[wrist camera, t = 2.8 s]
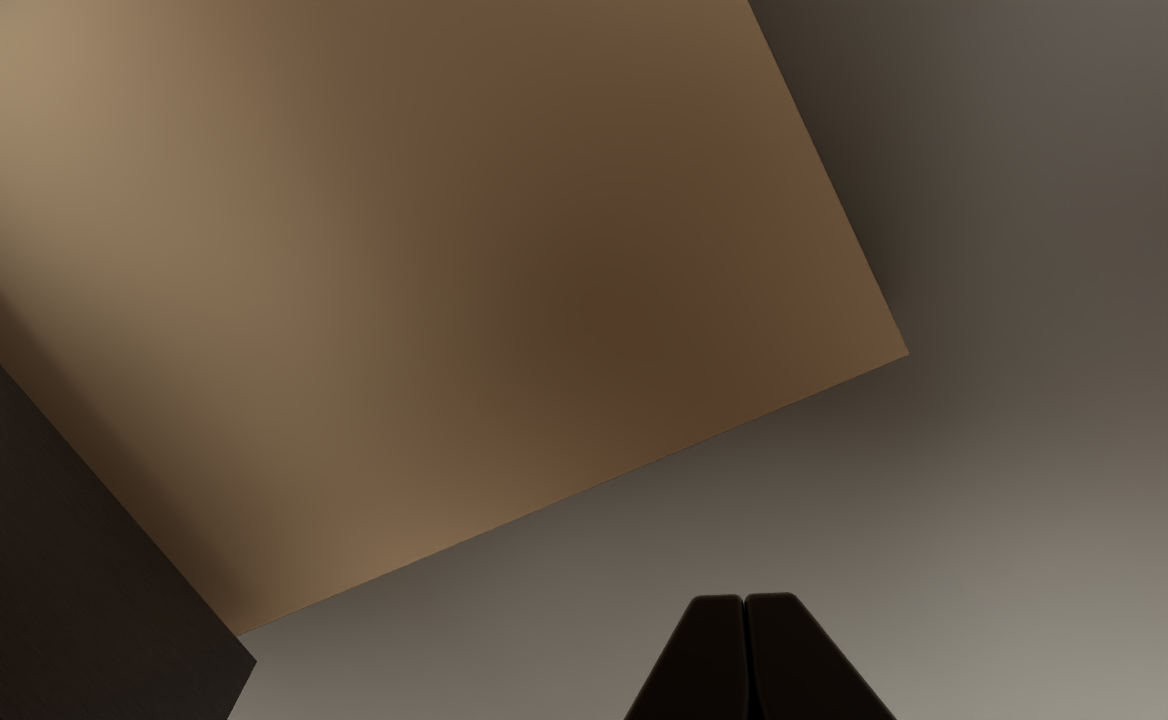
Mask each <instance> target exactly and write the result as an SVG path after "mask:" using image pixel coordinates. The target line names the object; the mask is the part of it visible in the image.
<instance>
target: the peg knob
mask: <svg viewBox="0 0 1168 720" xmlns="http://www.w3.org/2000/svg"><path fill="white" fill-rule="evenodd" d="M256 663H257V661H256V660H255V658H254V657H253V656H252V655H251V654H250V653H249V651H248V650H247V649H246V648H245V647H244V646H243V645H242V643H241V642H240V641H239V640H238V639H237V638H236V636H235V635H234V634H233V633H232V632H231V631H230V630H229V628H228V627H227V626H226V625H225V624H224V623H223V621H222V620H221V619H220V618H219V617H218V616H217V614H216V613H215V612H214V611H213V610H212V609H211V608H210V606H209V605H208V604H207V603H206V602H205V601H204V599H203V598H202V597H201V596H200V595H199V594H198V593H197V591H196V590H195V589H194V588H193V587H192V586H191V584H190V583H189V582H188V581H187V580H186V579H185V577H184V576H183V575H182V574H181V573H180V572H179V571H178V569H177V568H176V567H175V566H174V565H173V564H172V562H171V561H170V560H169V559H168V558H167V557H166V555H165V554H164V553H163V552H162V551H161V550H160V549H159V547H158V546H157V545H156V544H155V543H154V542H153V540H152V539H151V538H150V537H149V536H148V535H147V534H146V532H145V531H144V530H143V529H142V528H141V527H140V525H139V524H138V523H137V522H136V521H135V520H134V518H133V517H132V516H131V515H130V514H129V513H128V512H127V510H126V509H125V508H124V507H123V506H122V505H121V503H120V502H119V501H118V500H117V499H116V498H115V497H114V495H113V494H112V493H111V492H110V491H109V490H108V488H107V487H106V486H105V485H104V484H103V483H102V481H101V480H100V479H99V478H98V477H97V476H96V475H95V473H94V472H93V471H92V470H91V469H90V468H89V466H88V465H87V464H86V463H85V462H84V461H83V460H82V458H81V457H80V456H79V455H78V454H77V453H76V451H75V450H74V449H73V448H72V447H71V446H70V444H69V443H68V442H67V441H66V440H65V439H64V438H63V436H62V435H61V434H60V433H59V432H58V431H57V429H56V428H55V427H54V426H53V425H52V424H51V422H50V421H49V420H48V419H47V418H46V417H45V416H44V414H43V413H42V412H41V411H40V410H39V409H38V407H37V406H36V405H35V404H34V403H33V402H32V401H31V399H30V398H29V397H28V396H27V395H26V394H25V392H24V391H23V390H22V389H21V388H20V387H19V385H18V384H17V383H16V382H15V381H14V380H13V379H12V377H11V376H10V375H9V374H8V373H7V372H6V370H5V369H4V368H3V367H2V366H1V365H0V720H227V718H228V717H229V715H230V713H231V711H232V709H233V707H234V705H235V703H236V701H237V699H238V697H239V695H240V693H241V691H242V690H243V688H244V686H245V684H246V682H247V680H248V678H249V676H250V674H251V672H252V670H253V668H254V666H255V665H256Z"/></svg>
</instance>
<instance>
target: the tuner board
mask: <svg viewBox="0 0 1168 720" xmlns="http://www.w3.org/2000/svg"><path fill="white" fill-rule="evenodd" d="M909 354H910V353H909V351H908V349H907V347H906V345H905V342H904V340H903V338H902V336H901V334H900V332H899V329H898V327H897V325H896V323H895V321H894V318H893V316H892V314H891V312H890V310H889V308H888V305H887V303H886V301H885V299H884V297H883V294H882V292H881V290H880V288H879V286H878V284H877V281H876V279H875V277H874V275H873V273H872V271H871V268H870V266H869V264H868V262H867V260H866V257H865V255H864V253H863V251H862V249H861V247H860V244H859V242H858V240H857V238H856V236H855V233H854V231H853V229H852V227H851V225H850V223H849V220H848V218H847V216H846V214H845V212H844V209H843V207H842V205H841V203H840V201H839V199H838V196H837V194H836V192H835V190H834V188H833V185H832V183H831V181H830V179H829V177H828V175H827V172H826V170H825V168H824V166H823V164H822V162H821V159H820V157H819V155H818V153H817V151H816V148H815V146H814V144H813V142H812V140H811V138H810V135H809V133H808V131H807V129H806V127H805V124H804V122H803V120H802V118H801V116H800V114H799V111H798V109H797V107H796V105H795V103H794V100H793V98H792V96H791V94H790V92H789V90H788V87H787V85H786V83H785V81H784V79H783V76H782V74H781V72H780V70H779V68H778V66H777V63H776V61H775V59H774V57H773V55H772V53H771V50H770V48H769V46H768V44H767V42H766V39H765V37H764V35H763V33H762V31H761V29H760V26H759V24H758V22H757V20H756V18H755V15H754V13H753V11H752V9H751V7H750V5H749V2H748V0H0V365H1V366H2V367H3V368H4V369H5V370H6V372H7V373H8V374H9V375H10V376H11V377H12V379H13V380H14V381H15V382H16V383H17V384H18V385H19V387H20V388H21V389H22V390H23V391H24V392H25V394H26V395H27V396H28V397H29V398H30V399H31V401H32V402H33V403H34V404H35V405H36V406H37V407H38V409H39V410H40V411H41V412H42V413H43V414H44V416H45V417H46V418H47V419H48V420H49V421H50V422H51V424H52V425H53V426H54V427H55V428H56V429H57V431H58V432H59V433H60V434H61V435H62V436H63V438H64V439H65V440H66V441H67V442H68V443H69V444H70V446H71V447H72V448H73V449H74V450H75V451H76V453H77V454H78V455H79V456H80V457H81V458H82V460H83V461H84V462H85V463H86V464H87V465H88V466H89V468H90V469H91V470H92V471H93V472H94V473H95V475H96V476H97V477H98V478H99V479H100V480H101V481H102V483H103V484H104V485H105V486H106V487H107V488H108V490H109V491H110V492H111V493H112V494H113V495H114V497H115V498H116V499H117V500H118V501H119V502H120V503H121V505H122V506H123V507H124V508H125V509H126V510H127V512H128V513H129V514H130V515H131V516H132V517H133V518H134V520H135V521H136V522H137V523H138V524H139V525H140V527H141V528H142V529H143V530H144V531H145V532H146V534H147V535H148V536H149V537H150V538H151V539H152V540H153V542H154V543H155V544H156V545H157V546H158V547H159V549H160V550H161V551H162V552H163V553H164V554H165V555H166V557H167V558H168V559H169V560H170V561H171V562H172V564H173V565H174V566H175V567H176V568H177V569H178V571H179V572H180V573H181V574H182V575H183V576H184V577H185V579H186V580H187V581H188V582H189V583H190V584H191V586H192V587H193V588H194V589H195V590H196V591H197V593H198V594H199V595H200V596H201V597H202V598H203V599H204V601H205V602H206V603H207V604H208V605H209V606H210V608H211V609H212V610H213V611H214V612H215V613H216V614H217V616H218V617H219V618H220V619H221V620H222V621H223V623H224V624H225V625H226V626H227V627H228V628H229V630H230V631H231V632H232V633H233V634H234V635H235V636H239V635H241V634H243V633H246V632H248V631H251V630H253V629H255V628H258V627H260V626H263V625H265V624H267V623H270V622H272V621H274V620H277V619H279V618H282V617H284V616H286V615H289V614H291V613H294V612H296V611H298V610H301V609H303V608H305V607H308V606H310V605H313V604H315V603H317V602H320V601H322V600H325V599H327V598H329V597H332V596H334V595H337V594H339V593H341V592H344V591H346V590H348V589H351V588H353V587H356V586H358V585H360V584H363V583H365V582H368V581H370V580H372V579H375V578H377V577H379V576H382V575H384V574H387V573H389V572H391V571H394V570H396V569H399V568H401V567H403V566H406V565H408V564H410V563H413V562H415V561H418V560H420V559H422V558H425V557H427V556H430V555H432V554H434V553H437V552H439V551H442V550H444V549H446V548H449V547H451V546H453V545H456V544H458V543H461V542H463V541H465V540H468V539H470V538H473V537H475V536H477V535H480V534H482V533H484V532H487V531H489V530H492V529H494V528H496V527H499V526H501V525H504V524H506V523H508V522H511V521H513V520H516V519H518V518H520V517H523V516H525V515H527V514H530V513H532V512H535V511H537V510H539V509H542V508H544V507H547V506H549V505H551V504H554V503H556V502H558V501H561V500H563V499H566V498H568V497H570V496H573V495H575V494H578V493H580V492H582V491H585V490H587V489H590V488H592V487H594V486H597V485H599V484H601V483H604V482H606V481H609V480H611V479H613V478H616V477H618V476H621V475H623V474H625V473H628V472H630V471H632V470H635V469H637V468H640V467H642V466H644V465H647V464H649V463H652V462H654V461H656V460H659V459H661V458H664V457H666V456H668V455H671V454H673V453H675V452H678V451H680V450H683V449H685V448H687V447H690V446H692V445H695V444H697V443H699V442H702V441H704V440H706V439H709V438H711V437H714V436H716V435H718V434H721V433H723V432H726V431H728V430H730V429H733V428H735V427H738V426H740V425H742V424H745V423H747V422H749V421H752V420H754V419H757V418H759V417H761V416H764V415H766V414H769V413H771V412H773V411H776V410H778V409H780V408H783V407H785V406H788V405H790V404H792V403H795V402H797V401H800V400H802V399H804V398H807V397H809V396H812V395H814V394H816V393H819V392H821V391H823V390H826V389H828V388H831V387H833V386H835V385H838V384H840V383H843V382H845V381H847V380H850V379H852V378H854V377H857V376H859V375H862V374H864V373H866V372H869V371H871V370H874V369H876V368H878V367H881V366H883V365H886V364H888V363H890V362H893V361H895V360H897V359H900V358H902V357H905V356H907V355H909Z"/></svg>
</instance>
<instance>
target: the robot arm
mask: <svg viewBox="0 0 1168 720" xmlns="http://www.w3.org/2000/svg"><path fill="white" fill-rule="evenodd" d="M624 720H897V719H896V718H895V717H894V716H893V714H892V713H891V712H890V711H889V709H888V708H887V707H886V706H885V704H884V703H883V702H882V701H881V699H880V698H879V697H878V696H877V695H876V693H875V692H874V691H873V690H872V688H871V687H870V686H869V685H868V683H867V682H866V681H865V680H864V679H863V677H862V676H861V675H860V674H859V672H858V671H857V670H856V669H855V667H854V666H853V665H852V664H851V663H850V661H849V660H848V659H847V658H846V656H845V655H844V654H843V653H842V651H841V650H840V649H839V648H838V647H837V645H836V644H835V643H834V642H833V640H832V639H831V638H830V637H829V635H828V634H827V633H826V632H825V631H824V629H823V628H822V627H821V626H820V624H819V623H818V622H817V621H816V619H815V618H814V617H813V616H812V614H811V613H810V612H809V611H808V610H807V608H806V607H805V606H804V605H803V603H802V602H801V601H800V600H799V599H798V598H797V596H795V595H794V594H792V593H788V592H781V593H754V594H749V595H748V596H747V597H746V598H745V601H744V603H743V600H742V598H741V597H740V596H738V595H735V594H726V595H700V596H696V597H695V598H693V599H692V601H691V602H690V603H689V605H688V607H687V609H686V610H685V612H684V614H683V616H682V617H681V619H680V621H679V623H678V625H677V626H676V628H675V630H674V632H673V633H672V635H671V637H670V639H669V640H668V642H667V644H666V646H665V648H664V649H663V651H662V653H661V655H660V656H659V658H658V660H657V662H656V663H655V665H654V667H653V669H652V671H651V672H650V674H649V676H648V678H647V679H646V681H645V683H644V685H643V686H642V688H641V690H640V692H639V694H638V695H637V697H636V699H635V701H634V702H633V704H632V706H631V708H630V710H629V711H628V713H627V715H626V717H625V718H624Z"/></svg>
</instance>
